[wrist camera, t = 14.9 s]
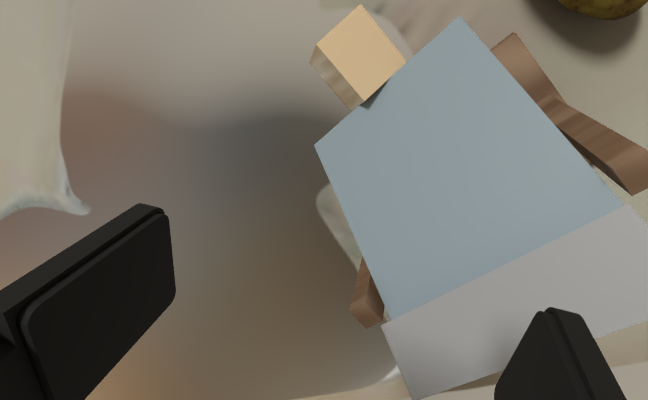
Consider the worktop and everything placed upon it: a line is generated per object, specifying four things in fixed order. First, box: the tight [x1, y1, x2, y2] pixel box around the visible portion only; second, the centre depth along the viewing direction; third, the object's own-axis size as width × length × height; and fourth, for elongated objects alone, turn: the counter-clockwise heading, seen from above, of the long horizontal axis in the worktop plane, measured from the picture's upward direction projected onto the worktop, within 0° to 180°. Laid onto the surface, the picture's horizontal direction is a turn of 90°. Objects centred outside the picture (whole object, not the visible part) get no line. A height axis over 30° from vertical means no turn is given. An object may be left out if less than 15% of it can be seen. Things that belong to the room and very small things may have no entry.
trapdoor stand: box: [349, 33, 648, 329], centre depth 30 cm, size 14×22×17 cm, turn 134°
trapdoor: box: [314, 16, 648, 400], centre depth 26 cm, size 22×16×4 cm
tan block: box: [309, 4, 407, 111], centre depth 32 cm, size 5×5×6 cm
